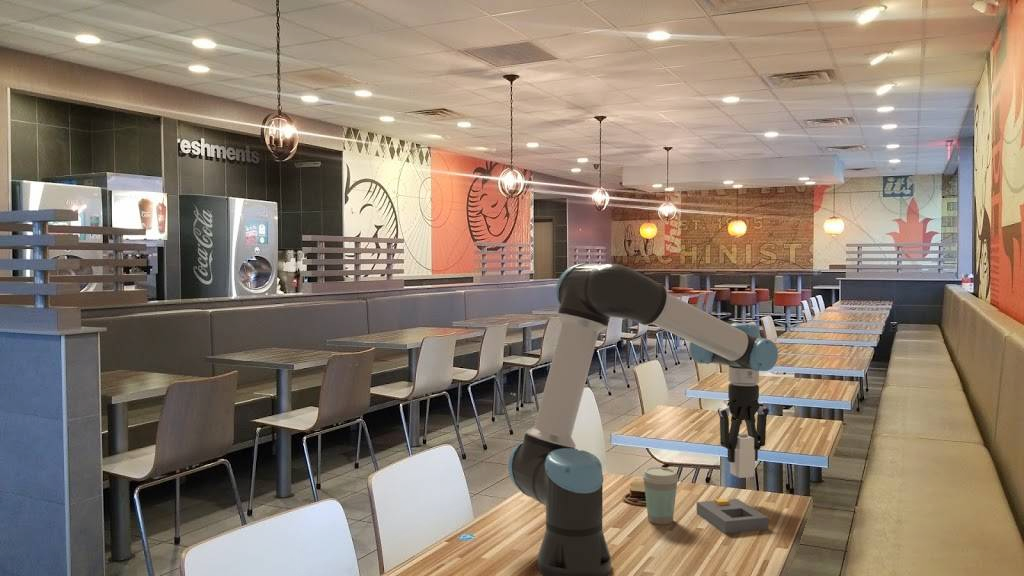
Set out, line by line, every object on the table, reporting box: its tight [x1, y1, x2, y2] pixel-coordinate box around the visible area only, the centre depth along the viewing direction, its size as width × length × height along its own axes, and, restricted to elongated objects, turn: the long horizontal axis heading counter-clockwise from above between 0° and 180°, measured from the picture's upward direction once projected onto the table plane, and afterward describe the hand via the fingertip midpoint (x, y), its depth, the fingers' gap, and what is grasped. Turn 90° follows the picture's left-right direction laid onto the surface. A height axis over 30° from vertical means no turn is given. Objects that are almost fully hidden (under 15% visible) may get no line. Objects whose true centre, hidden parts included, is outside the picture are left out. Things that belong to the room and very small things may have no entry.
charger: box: [736, 433, 755, 479], centre depth 191 cm, size 4×4×11 cm
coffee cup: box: [642, 466, 680, 525], centre depth 179 cm, size 8×9×12 cm
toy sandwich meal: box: [622, 481, 647, 506], centre depth 194 cm, size 9×10×4 cm
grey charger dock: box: [696, 498, 769, 535], centre depth 177 cm, size 11×14×4 cm
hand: (742, 473), depth 191 cm, fingers closed on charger, 4 cm apart
